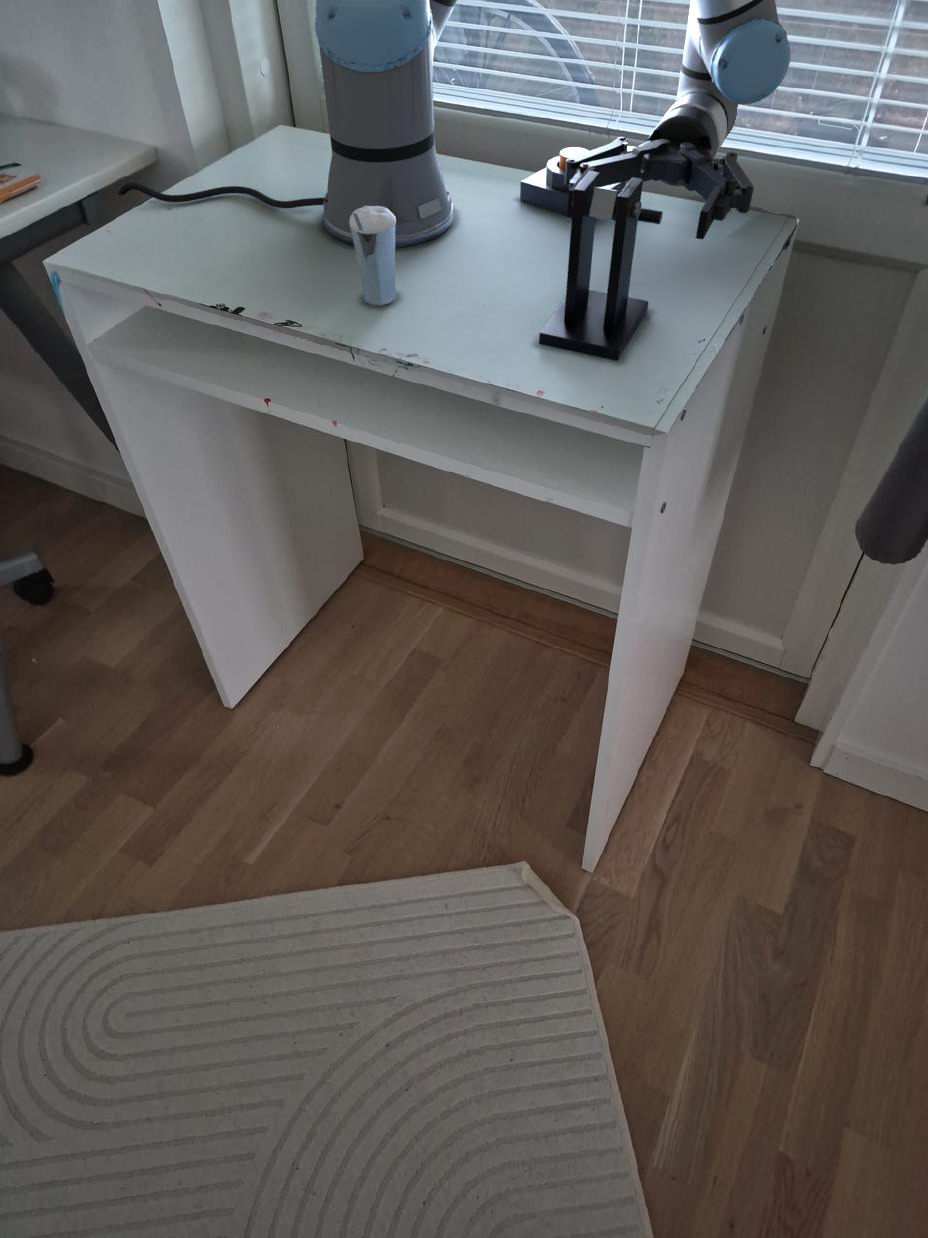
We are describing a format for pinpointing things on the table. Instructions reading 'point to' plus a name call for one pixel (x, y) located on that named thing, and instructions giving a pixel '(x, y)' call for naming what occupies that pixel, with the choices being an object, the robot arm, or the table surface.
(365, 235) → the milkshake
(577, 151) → the button
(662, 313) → the table surface
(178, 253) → the table surface
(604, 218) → the switch lever
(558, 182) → the control block
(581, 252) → the stand
